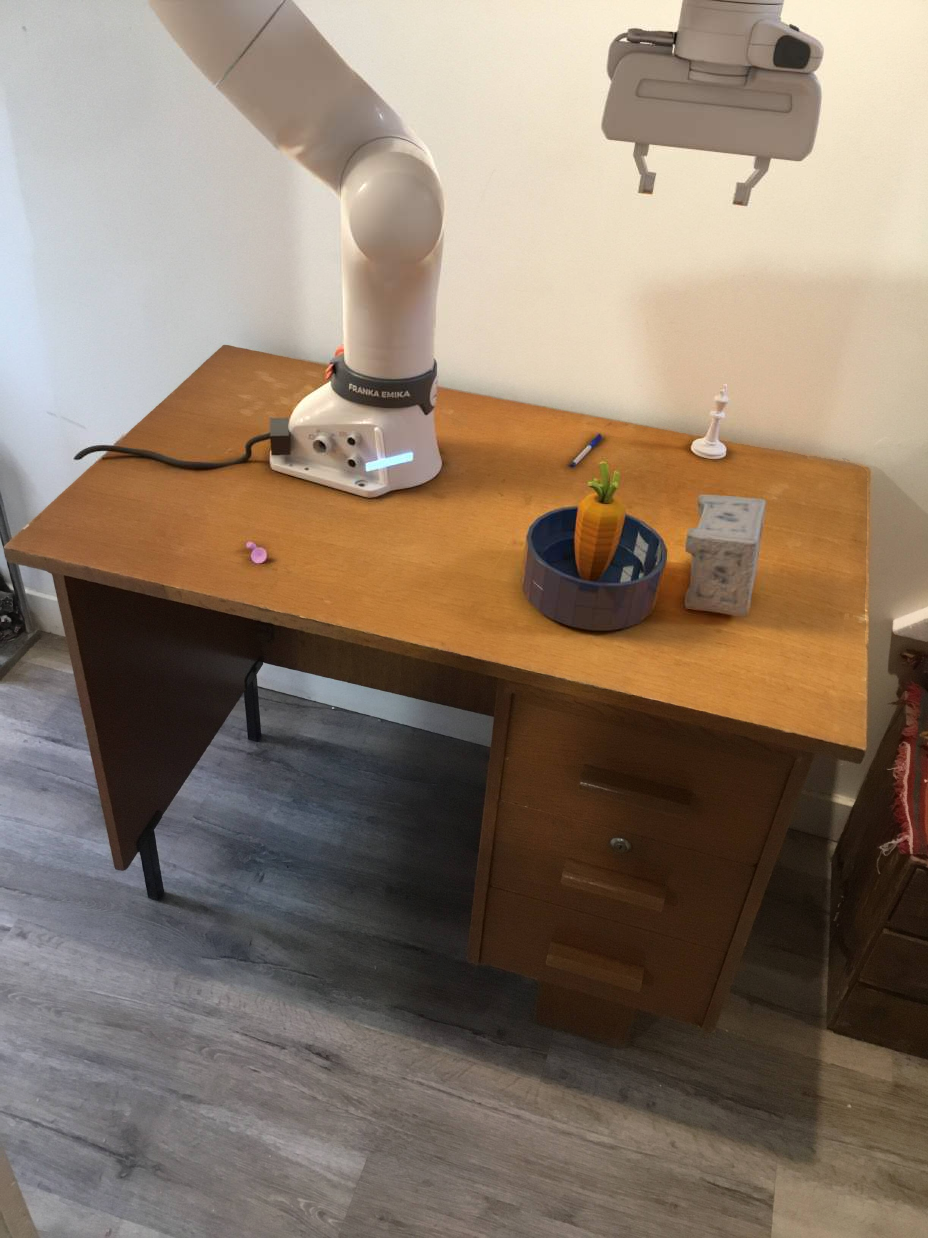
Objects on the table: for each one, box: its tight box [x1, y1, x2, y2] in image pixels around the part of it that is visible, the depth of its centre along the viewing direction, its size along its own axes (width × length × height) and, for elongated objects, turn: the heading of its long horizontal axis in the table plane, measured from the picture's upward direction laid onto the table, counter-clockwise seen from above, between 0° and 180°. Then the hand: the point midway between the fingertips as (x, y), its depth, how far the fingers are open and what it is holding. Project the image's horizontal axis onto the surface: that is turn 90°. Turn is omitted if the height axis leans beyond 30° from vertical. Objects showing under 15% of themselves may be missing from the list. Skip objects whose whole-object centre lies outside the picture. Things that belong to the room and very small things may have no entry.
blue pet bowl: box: [520, 505, 668, 632], centre depth 99 cm, size 15×15×6 cm
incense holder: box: [684, 493, 767, 617], centre depth 99 cm, size 10×8×10 cm
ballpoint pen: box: [569, 433, 602, 468], centre depth 126 cm, size 10×1×1 cm, turn 153°
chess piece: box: [690, 383, 730, 460], centre depth 126 cm, size 5×5×10 cm
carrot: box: [575, 461, 627, 582], centre depth 96 cm, size 5×5×15 cm
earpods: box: [246, 541, 268, 564], centre depth 103 cm, size 3×2×2 cm
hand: (692, 198), depth 92 cm, fingers open, 8 cm apart
